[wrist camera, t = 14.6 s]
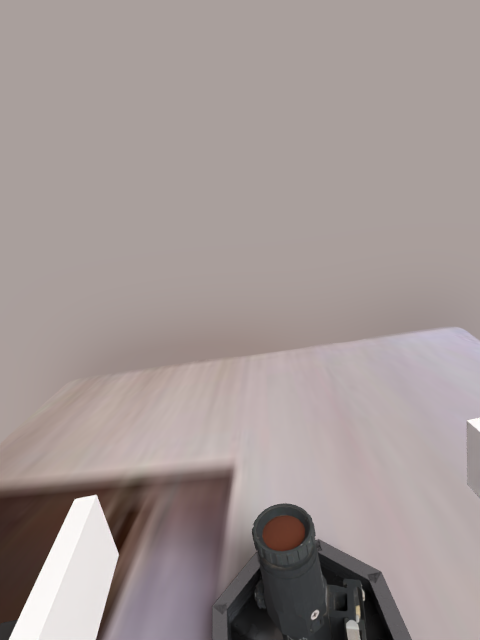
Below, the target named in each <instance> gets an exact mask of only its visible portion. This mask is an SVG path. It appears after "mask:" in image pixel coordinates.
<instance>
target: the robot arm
mask: <svg viewBox="0 0 480 640" xmlns="http://www.w3.org/2000/svg"><path fill="white" fill-rule="evenodd" d="M467 485H468V486H469V487H470V488H471V489H472V490H473V491H474V492H475V494H476V495H477V496H478V497H479V498H480V418H477V419H472V420H467ZM118 556H119V554H118V551H117V548H116V546H115V543H114V540H113V538H112V535H111V532H110V530H109V527H108V524H107V522H106V519H105V516H104V514H103V511H102V508H101V505H100V503H99V500H98V497H97V495H93V496H88V497H83V498H78V499H75V500H74V502H73V504H72V506H71V508H70V510H69V513H68V515H67V517H66V519H65V521H64V523H63V525H62V527H61V530H60V532H59V534H58V536H57V538H56V540H55V542H54V545H53V547H52V549H51V551H50V553H49V555H48V557H47V559H46V562H45V564H44V566H43V568H42V570H41V572H40V574H39V576H38V579H37V581H36V583H35V585H34V587H33V589H32V591H31V593H30V596H29V598H28V600H27V602H26V604H25V606H24V608H23V610H22V613H21V615H20V617H19V619H18V620H14V621H9V622H4V623H1V624H0V640H96V637H97V633H98V629H99V626H100V622H101V618H102V615H103V611H104V607H105V603H106V600H107V596H108V592H109V589H110V585H111V581H112V578H113V574H114V570H115V567H116V563H117V559H118Z"/></svg>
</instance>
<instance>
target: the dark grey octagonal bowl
mask: <svg viewBox="0 0 480 640" xmlns="http://www.w3.org/2000/svg"><path fill="white" fill-rule="evenodd" d="M315 543H316V548H317V552H318V557H319V562H320V566H321V571H322V575H323V576H324V577H325V579H326V583H327V584H328V585H329V586H330V585H336V586H340V587H344V583H343V580H344V579H354V580H360V581H361V585H362V590H363V591H364V593H365V600H364V601H363V602H364V610H365V618H366V629H365V631H366V639H367V640H412V639H411V637H410V635H409V632H408V630H407V628H406V626H405V623H404V621H403V619H402V617H401V615H400V612H399V610H398V608H397V606H396V604H395V601H394V599H393V597H392V595H391V592H390V590H389V588H388V586H387V584H386V581H385V579H384V577H383V575H382V572H381V571H379V570H377V569H375V568H373V567H371V566H369V565H367V564H365V563H363V562H361V561H359V560H357V559H356V558H354V557H352V556H350V555H348V554H346V553H344V552H342V551H340V550H338V549H336V548H334V547H332V546H331V545H329V544H327V543H325V542H323V541H321V540H319V539H318V540H315ZM261 579H262V574H261V568H260V563H259V556H258V552H256V553H255V555H254V556H253V557H252V558H251V559H250V561H249V562H248V563H247V564H246V566H245V567H244V568H243V569H242V570H241V572H240V573H239V574H238V575H237V577H236V578H235V579H234V580H233V581H232V583H231V584H230V585H229V586H228V588H227V589H226V590H225V591H224V592H223V594H222V595H221V596H220V597H219V599H218V600H217V601H216V602H215V603H214V605H213V606H212V640H283V636H282V633H281V631H280V630H279V629H278V628H277V626H276V625H275V623H274V622H273V621H272V619H271V617H270V616H269V614H268V612H267V607H266V608H265V609H263V608H259V606H258V604H257V602H256V601H255V597H254V592H255V590H256V589H257V588H255V587H256V585H257V584H258V583H259V581H260V580H261Z"/></svg>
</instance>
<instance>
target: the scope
mask: <svg viewBox="0 0 480 640" xmlns="http://www.w3.org/2000/svg"><path fill="white" fill-rule="evenodd" d="M252 535H253V540H254V545H255V548H256V550H258V556H259V563H260V568H261V574H262V579H261V580H260V581H259V583H258V584H257V585H256V587H255V588H257V589H256V590H255V592H254V597H255V601H256V602H257V604H258V606H259V608H263V609H265V608H266V607H267V612H268V614H269V616H270V617H271V619H272V621H273V622H274V623H275V625H276V626H277V628H278V629H279V630H280V631H281V633H282V636H283V640H367V639H366V631H365V629H366V618H365V610H364V602H363V601H364V600H365V593H364V591H363V590H362V585H361V581H360V580H354V579H344V580H343V583H344V587H340V586H336V585H330V586H329V585H328V584H327V583H326V579H325V577H324V576H323V575H322V571H321V566H320V562H319V557H318V552H317V548H316V543H315V536H316V535H315V529H314V523H312V518H311V516H310V515H309V514H307V512H306V511H305V510H304V509H302V508H300V507H298V506H296V505H292V504H277V505H273V506H271V507H269V508H267V509H265V510H264V511H263V512H262V513H261V514H260V515H259V516H258V518H257V519H256V520H255V522H254V527H253V529H252Z"/></svg>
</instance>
